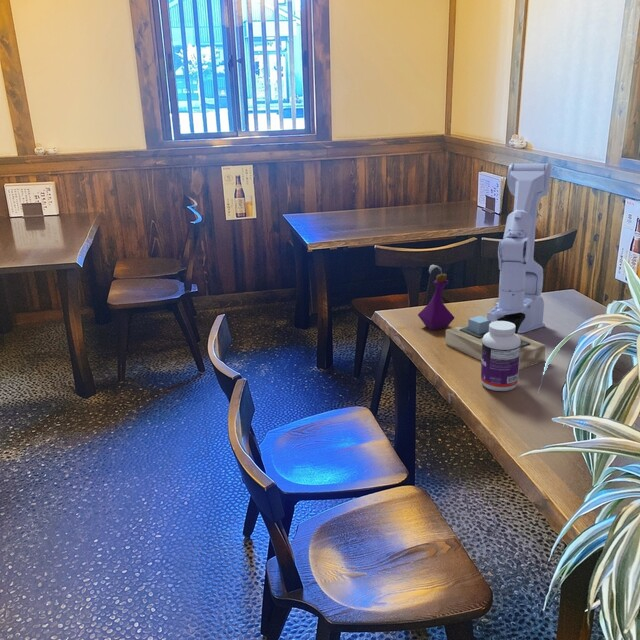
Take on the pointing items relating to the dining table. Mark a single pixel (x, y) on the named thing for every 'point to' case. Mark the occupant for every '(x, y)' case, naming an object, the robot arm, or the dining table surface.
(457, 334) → the socket block
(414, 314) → the dining table surface
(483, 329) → the peg blue
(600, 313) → the dining table surface
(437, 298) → the perfume bottle
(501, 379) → the pill bottle
